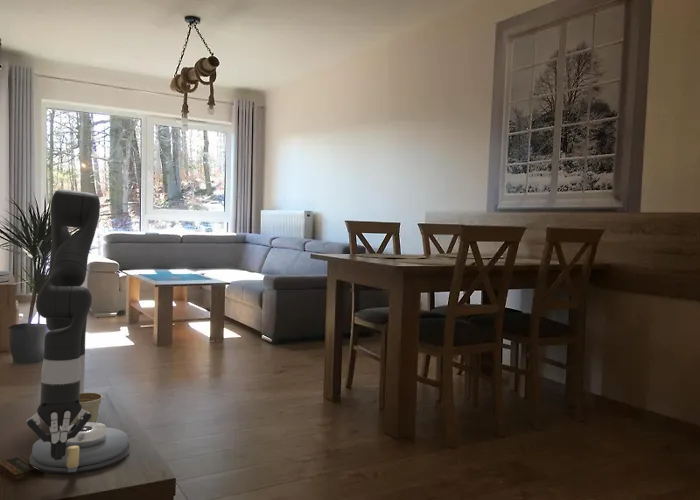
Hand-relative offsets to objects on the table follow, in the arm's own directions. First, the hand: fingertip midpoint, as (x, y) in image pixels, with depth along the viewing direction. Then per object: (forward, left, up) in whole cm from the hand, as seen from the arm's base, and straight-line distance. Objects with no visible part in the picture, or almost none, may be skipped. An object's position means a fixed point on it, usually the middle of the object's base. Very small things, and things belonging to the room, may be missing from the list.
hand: (57, 458), depth 123 cm
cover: (-15, +8, -2) cm, 16 cm away
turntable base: (-15, +7, -6) cm, 17 cm away
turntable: (-12, +7, -4) cm, 15 cm away
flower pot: (-35, +11, -6) cm, 37 cm away
